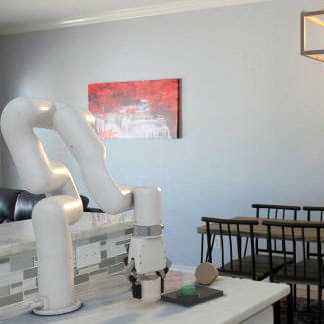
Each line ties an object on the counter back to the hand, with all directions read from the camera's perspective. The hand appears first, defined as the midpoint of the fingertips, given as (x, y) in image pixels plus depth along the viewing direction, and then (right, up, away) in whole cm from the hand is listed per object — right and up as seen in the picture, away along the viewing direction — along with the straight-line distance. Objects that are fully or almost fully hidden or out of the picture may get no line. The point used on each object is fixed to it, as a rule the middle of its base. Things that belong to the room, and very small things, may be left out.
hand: (148, 294), depth 150 cm
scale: (+11, -3, +10) cm, 15 cm away
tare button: (+11, -1, +4) cm, 11 cm away
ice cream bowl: (-7, -4, +24) cm, 26 cm away
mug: (+14, -3, +27) cm, 31 cm away
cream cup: (0, -1, 0) cm, 1 cm away
